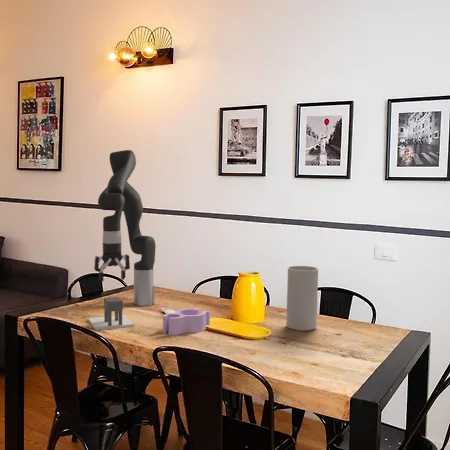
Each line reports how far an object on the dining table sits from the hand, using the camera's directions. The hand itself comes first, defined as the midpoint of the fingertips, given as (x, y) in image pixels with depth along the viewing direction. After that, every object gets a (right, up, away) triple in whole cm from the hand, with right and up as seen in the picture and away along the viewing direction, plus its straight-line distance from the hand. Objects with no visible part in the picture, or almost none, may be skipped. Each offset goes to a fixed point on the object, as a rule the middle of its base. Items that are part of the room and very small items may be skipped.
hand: (112, 280), depth 235 cm
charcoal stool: (+2, -13, -4) cm, 14 cm away
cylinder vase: (+79, -20, +2) cm, 81 cm away
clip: (+31, -20, -4) cm, 37 cm away
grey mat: (-1, -18, +4) cm, 19 cm away
